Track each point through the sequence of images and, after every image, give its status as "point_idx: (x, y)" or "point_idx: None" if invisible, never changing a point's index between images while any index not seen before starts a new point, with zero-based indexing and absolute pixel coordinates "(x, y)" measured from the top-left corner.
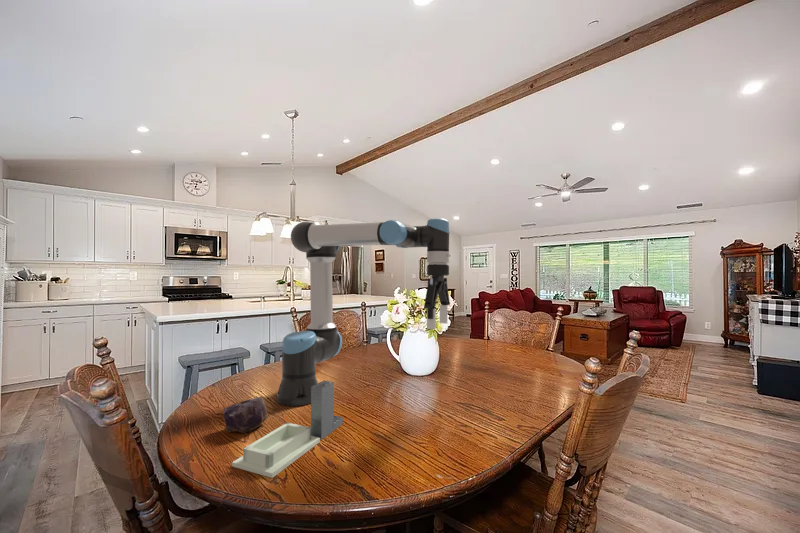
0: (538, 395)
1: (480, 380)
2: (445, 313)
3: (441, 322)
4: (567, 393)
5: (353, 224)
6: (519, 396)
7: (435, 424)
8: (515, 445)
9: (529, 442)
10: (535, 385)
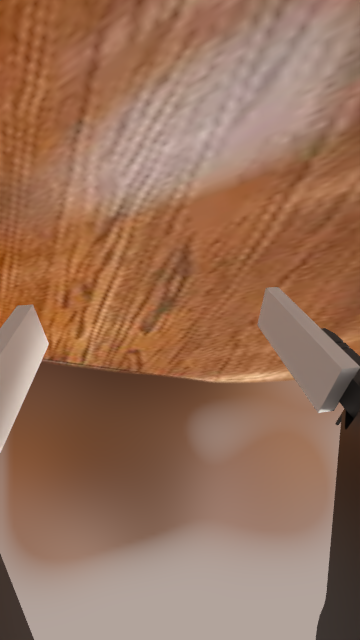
0: (266, 351)
1: (337, 253)
2: (287, 357)
3: (265, 300)
4: (283, 377)
5: None
6: (254, 332)
7: (55, 245)
8: (72, 359)
9: (92, 368)
10: None
